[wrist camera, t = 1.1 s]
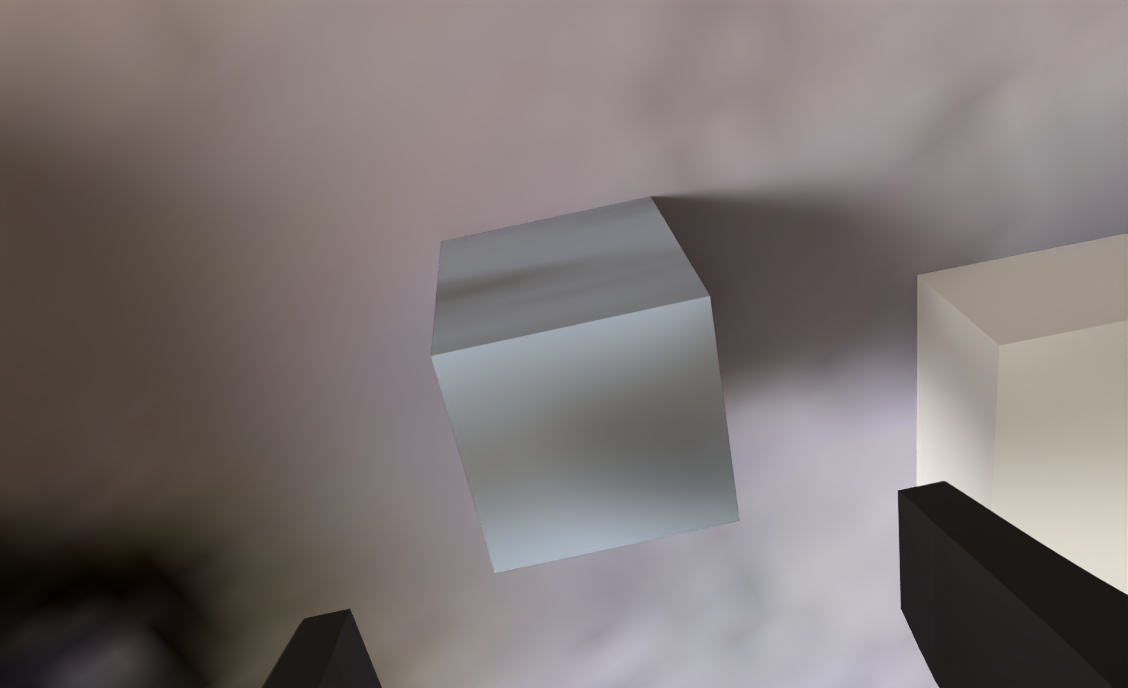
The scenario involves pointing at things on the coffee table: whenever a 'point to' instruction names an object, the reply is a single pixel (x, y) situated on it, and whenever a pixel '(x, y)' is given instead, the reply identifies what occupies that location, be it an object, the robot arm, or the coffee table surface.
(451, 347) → the block
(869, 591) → the coffee table surface
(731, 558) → the coffee table surface
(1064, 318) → the base box
